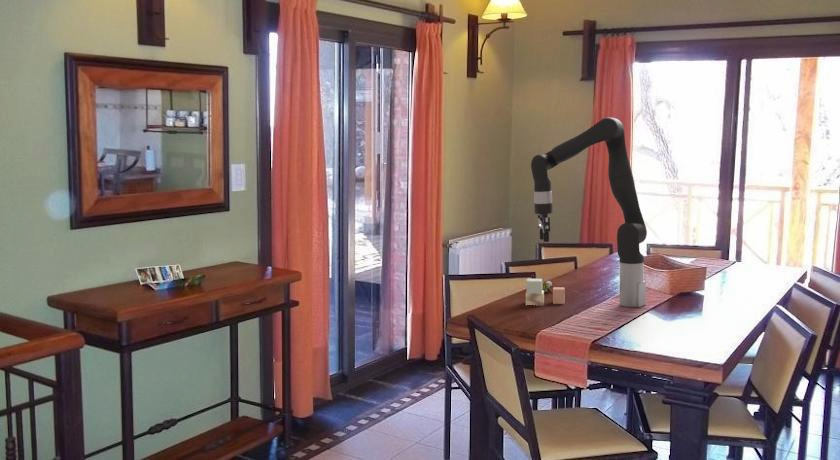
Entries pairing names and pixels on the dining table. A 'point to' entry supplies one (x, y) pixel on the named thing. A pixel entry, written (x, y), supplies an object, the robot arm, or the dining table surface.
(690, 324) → the dining table surface
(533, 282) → the tower top
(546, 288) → the toy
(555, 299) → the clay block
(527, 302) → the tower base
